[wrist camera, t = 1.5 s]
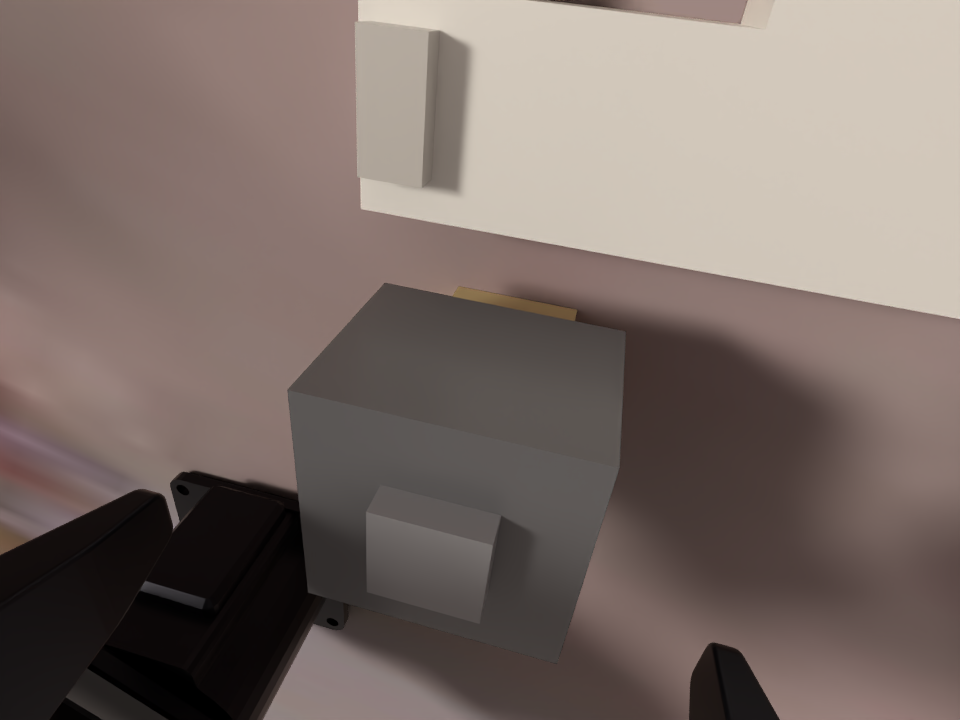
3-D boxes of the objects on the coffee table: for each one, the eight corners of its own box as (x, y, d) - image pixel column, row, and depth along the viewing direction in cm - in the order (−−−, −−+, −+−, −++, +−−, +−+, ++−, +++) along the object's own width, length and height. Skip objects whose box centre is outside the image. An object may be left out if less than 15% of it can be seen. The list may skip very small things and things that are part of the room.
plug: (584, 443, 16) (553, 696, 10) (414, 403, 17) (293, 619, 11) (628, 280, 13) (617, 499, 7) (422, 241, 14) (266, 413, 8)
